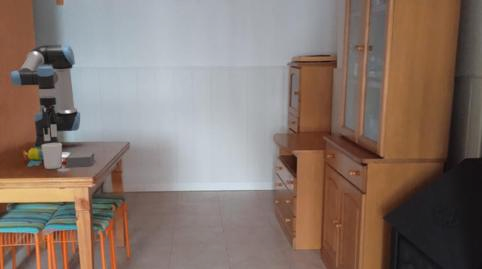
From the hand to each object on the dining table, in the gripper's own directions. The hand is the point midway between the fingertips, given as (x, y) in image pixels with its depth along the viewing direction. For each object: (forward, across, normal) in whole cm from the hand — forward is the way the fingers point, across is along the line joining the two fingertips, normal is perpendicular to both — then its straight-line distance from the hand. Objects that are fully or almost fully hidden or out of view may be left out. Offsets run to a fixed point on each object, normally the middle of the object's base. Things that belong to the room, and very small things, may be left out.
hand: (50, 138), depth 230 cm
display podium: (+15, +4, -13) cm, 20 cm away
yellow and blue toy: (+16, +19, +12) cm, 28 cm away
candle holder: (+15, 0, 0) cm, 15 cm away
